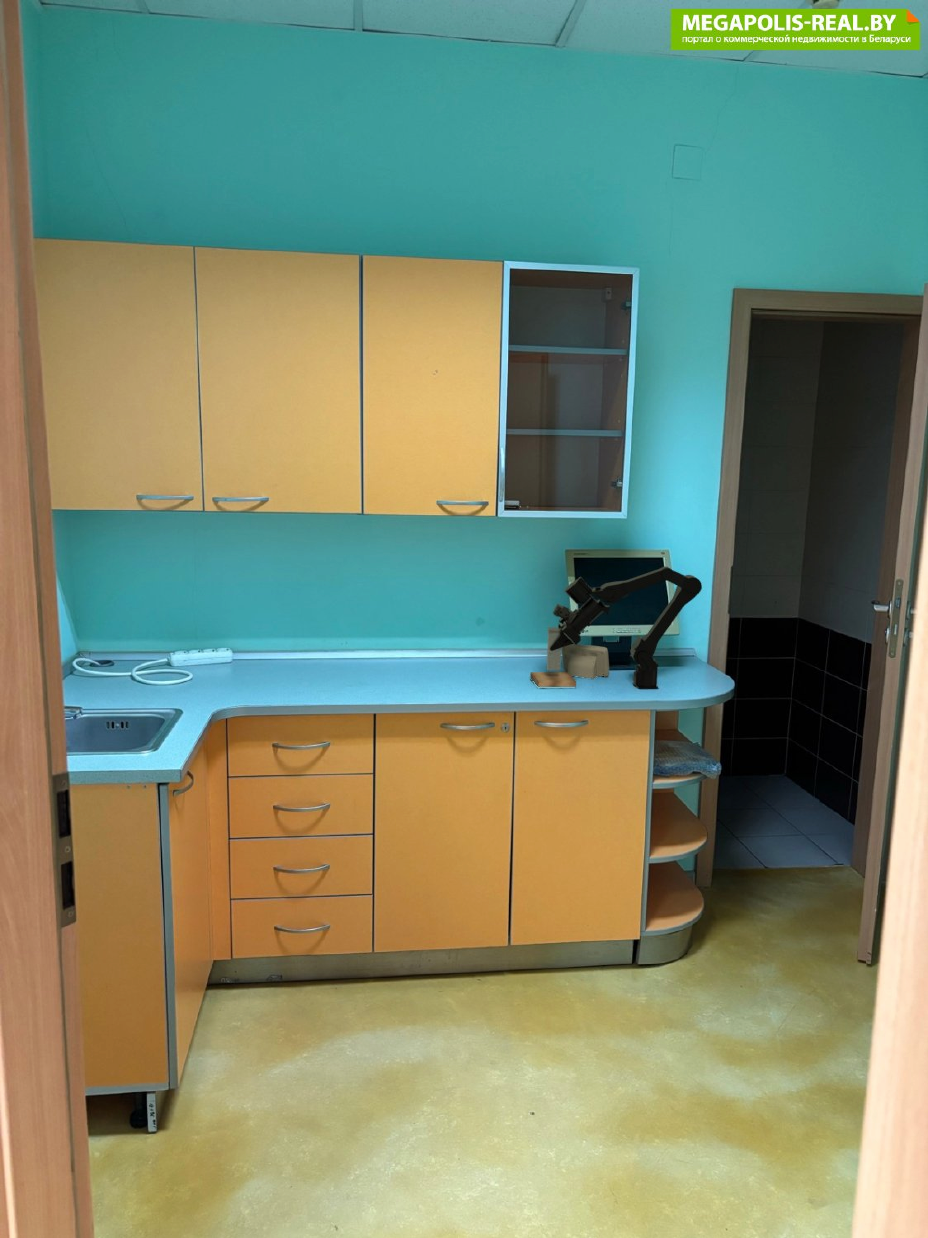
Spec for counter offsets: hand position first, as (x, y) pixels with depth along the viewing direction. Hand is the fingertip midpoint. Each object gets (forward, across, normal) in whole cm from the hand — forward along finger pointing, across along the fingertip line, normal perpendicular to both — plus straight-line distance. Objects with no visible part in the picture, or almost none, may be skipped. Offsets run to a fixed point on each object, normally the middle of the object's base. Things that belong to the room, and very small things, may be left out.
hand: (550, 648), depth 295 cm
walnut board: (+7, 0, +9) cm, 12 cm away
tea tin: (+4, 0, +6) cm, 7 cm away
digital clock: (0, -13, +17) cm, 22 cm away
